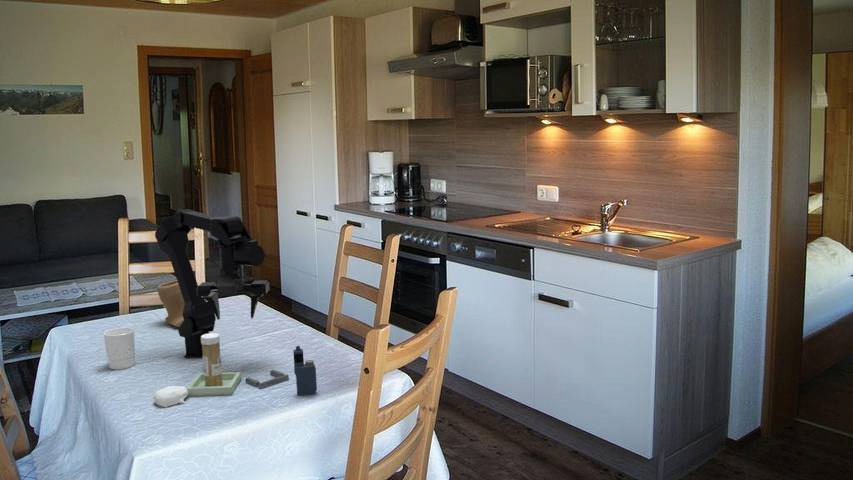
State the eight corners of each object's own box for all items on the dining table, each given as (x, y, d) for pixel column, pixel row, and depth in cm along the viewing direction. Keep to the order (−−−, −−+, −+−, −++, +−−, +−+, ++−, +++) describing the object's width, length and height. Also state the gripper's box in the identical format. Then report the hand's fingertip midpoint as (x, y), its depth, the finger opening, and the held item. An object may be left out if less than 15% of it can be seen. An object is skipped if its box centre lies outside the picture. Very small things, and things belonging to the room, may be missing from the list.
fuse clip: (245, 382, 191) (245, 378, 190) (273, 373, 197) (273, 369, 197) (260, 389, 186) (260, 384, 186) (288, 379, 192) (288, 375, 192)
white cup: (143, 362, 209) (140, 328, 208) (123, 371, 202) (120, 336, 200) (120, 360, 212) (117, 326, 210) (100, 369, 205) (96, 334, 203)
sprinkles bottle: (222, 388, 186) (218, 336, 184) (203, 390, 185) (199, 338, 183) (223, 382, 190) (220, 331, 188) (205, 383, 190) (201, 333, 187)
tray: (186, 396, 182) (186, 388, 182) (199, 380, 193) (198, 373, 193) (231, 394, 183) (231, 387, 182) (241, 379, 193) (241, 372, 193)
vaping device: (296, 391, 183) (293, 345, 181) (317, 390, 184) (314, 344, 182) (295, 395, 181) (292, 348, 179) (316, 394, 181) (314, 347, 179)
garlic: (182, 394, 185) (181, 380, 184) (193, 402, 179) (192, 387, 179) (150, 402, 180) (149, 388, 179) (160, 410, 174) (159, 395, 174)
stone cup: (156, 323, 250) (152, 279, 248) (191, 316, 257) (188, 274, 254) (169, 333, 238) (165, 287, 235) (206, 326, 245) (202, 282, 242)
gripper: (188, 270, 193) (193, 328, 195) (259, 268, 193) (263, 325, 196) (200, 262, 204) (204, 317, 206) (267, 259, 204) (271, 314, 207)
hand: (235, 318), depth 203 cm, fingers open, 9 cm apart
